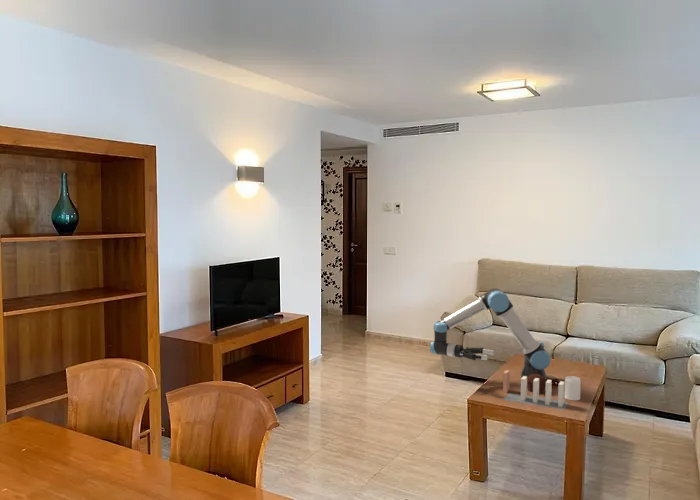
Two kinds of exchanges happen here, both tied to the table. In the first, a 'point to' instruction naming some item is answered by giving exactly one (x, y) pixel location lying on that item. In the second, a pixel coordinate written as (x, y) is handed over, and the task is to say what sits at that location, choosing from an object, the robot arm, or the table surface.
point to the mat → (530, 401)
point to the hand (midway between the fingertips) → (490, 355)
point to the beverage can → (572, 388)
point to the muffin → (541, 382)
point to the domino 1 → (506, 381)
